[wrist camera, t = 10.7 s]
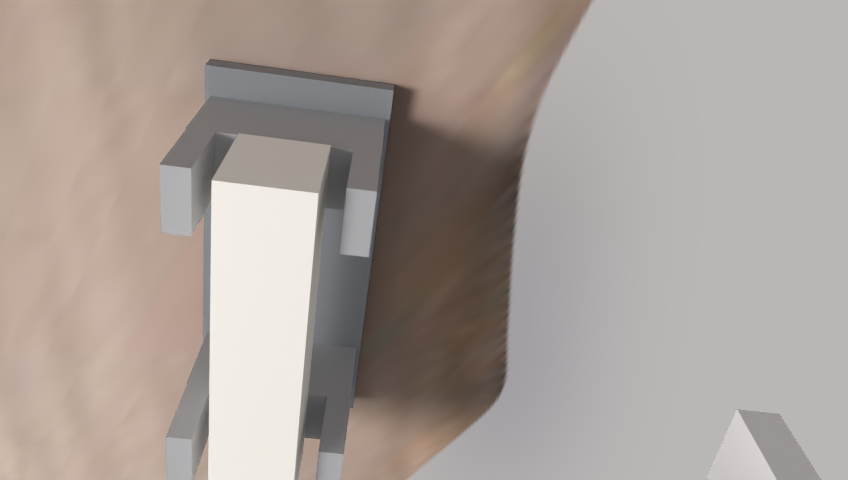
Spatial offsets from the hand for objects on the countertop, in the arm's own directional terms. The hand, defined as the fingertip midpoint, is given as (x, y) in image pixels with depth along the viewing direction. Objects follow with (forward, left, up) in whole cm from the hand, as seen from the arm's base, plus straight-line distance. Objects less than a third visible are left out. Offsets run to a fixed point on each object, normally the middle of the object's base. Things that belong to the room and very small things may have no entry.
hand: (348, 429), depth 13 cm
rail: (+12, -4, -21) cm, 25 cm away
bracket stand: (+12, -4, -27) cm, 30 cm away
